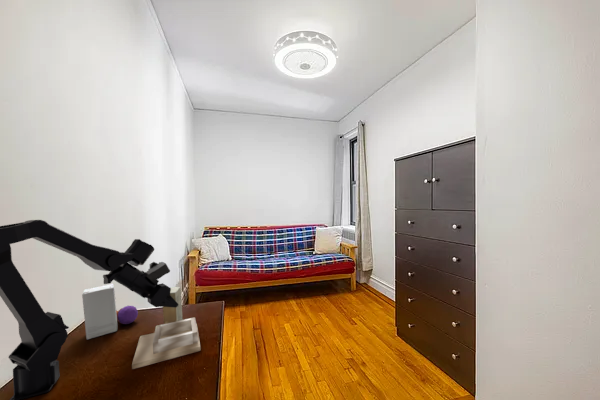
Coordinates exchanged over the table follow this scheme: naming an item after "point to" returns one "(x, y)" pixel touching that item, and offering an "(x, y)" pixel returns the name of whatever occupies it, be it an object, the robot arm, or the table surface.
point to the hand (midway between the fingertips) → (172, 302)
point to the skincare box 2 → (173, 312)
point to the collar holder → (167, 343)
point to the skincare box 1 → (99, 310)
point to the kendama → (127, 314)
